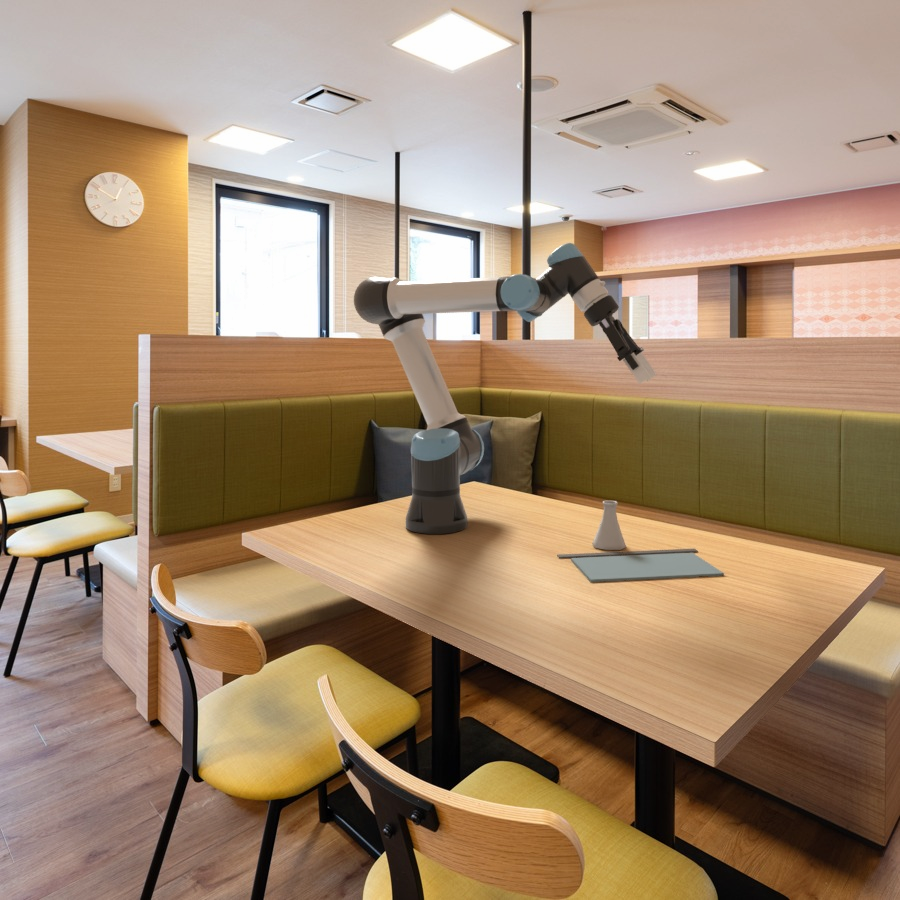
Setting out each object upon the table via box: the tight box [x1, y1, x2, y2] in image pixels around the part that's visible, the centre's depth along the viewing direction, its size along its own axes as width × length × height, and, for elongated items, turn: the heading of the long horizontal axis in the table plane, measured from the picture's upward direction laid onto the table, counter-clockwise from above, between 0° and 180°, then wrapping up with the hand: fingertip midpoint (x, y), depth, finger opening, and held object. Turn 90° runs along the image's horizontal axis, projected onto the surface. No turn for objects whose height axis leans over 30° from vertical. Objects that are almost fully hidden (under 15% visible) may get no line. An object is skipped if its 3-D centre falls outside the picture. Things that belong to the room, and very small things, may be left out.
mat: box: [570, 552, 725, 583], centre depth 133 cm, size 26×13×1 cm, turn 96°
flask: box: [592, 500, 627, 551], centre depth 147 cm, size 7×7×10 cm
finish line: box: [556, 548, 699, 559], centre depth 142 cm, size 30×2×1 cm, turn 96°
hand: (648, 379), depth 154 cm, fingers open, 13 cm apart
